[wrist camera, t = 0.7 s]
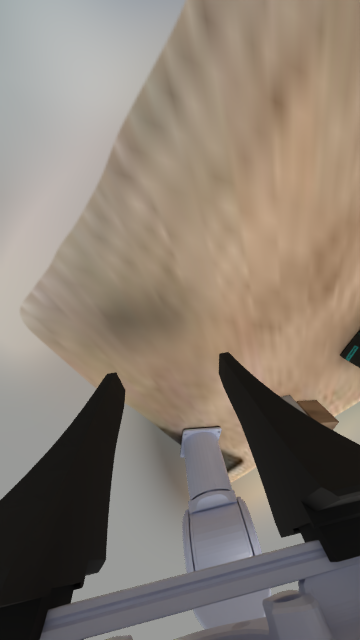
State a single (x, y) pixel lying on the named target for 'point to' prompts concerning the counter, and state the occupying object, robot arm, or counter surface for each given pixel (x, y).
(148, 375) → the counter surface
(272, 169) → the counter surface
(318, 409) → the walnut cube
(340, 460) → the robot arm
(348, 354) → the tampon box
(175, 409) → the counter surface
